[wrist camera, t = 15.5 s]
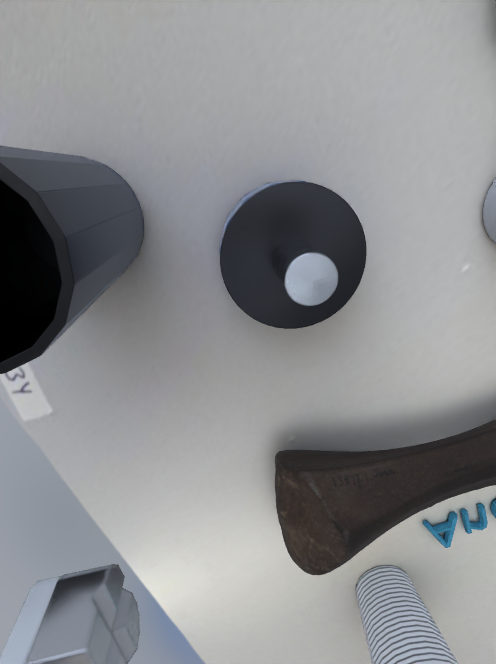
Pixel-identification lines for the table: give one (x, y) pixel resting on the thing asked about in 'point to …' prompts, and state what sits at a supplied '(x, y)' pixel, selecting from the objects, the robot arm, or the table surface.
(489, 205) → the cup
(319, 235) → the lid
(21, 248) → the pot
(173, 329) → the table surface
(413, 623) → the cup
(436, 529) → the nameplate
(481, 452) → the dark brown bone
